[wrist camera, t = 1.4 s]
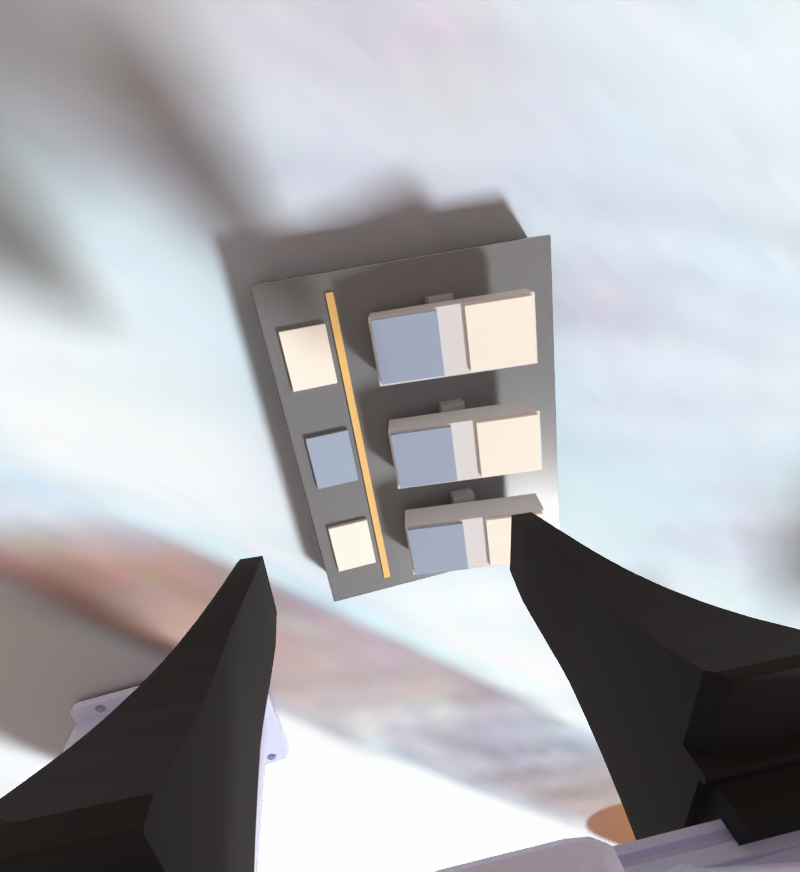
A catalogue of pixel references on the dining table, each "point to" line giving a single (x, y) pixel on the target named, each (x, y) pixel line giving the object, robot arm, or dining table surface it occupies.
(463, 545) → the rocker
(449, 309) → the rocker
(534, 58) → the dining table surface
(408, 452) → the rocker
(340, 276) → the switch unit
